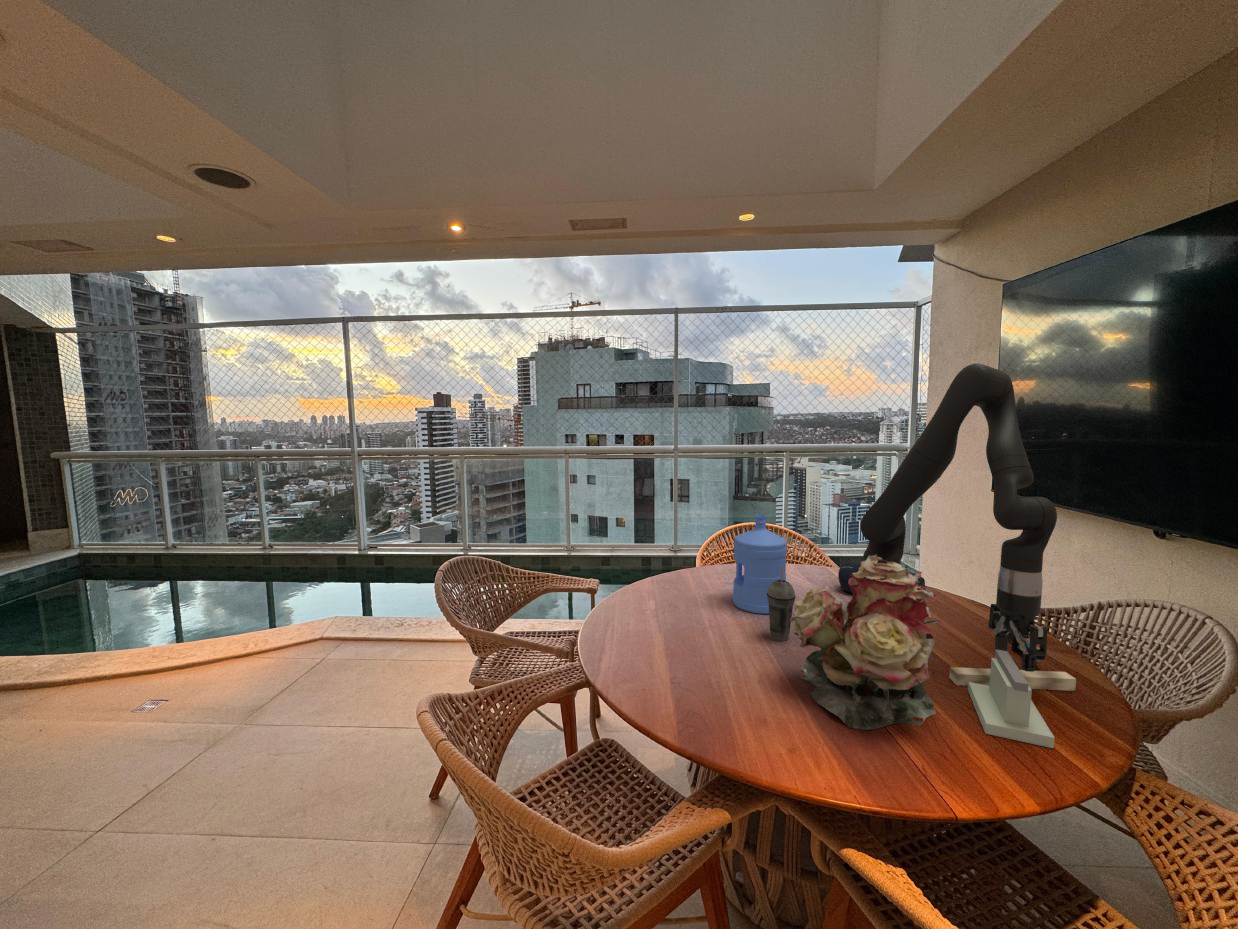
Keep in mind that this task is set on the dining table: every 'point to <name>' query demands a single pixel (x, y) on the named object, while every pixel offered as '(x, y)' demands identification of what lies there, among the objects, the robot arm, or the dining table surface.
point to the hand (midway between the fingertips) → (1013, 661)
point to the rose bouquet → (869, 646)
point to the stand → (1009, 704)
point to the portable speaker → (853, 567)
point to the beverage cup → (780, 608)
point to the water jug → (757, 566)
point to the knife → (1017, 646)
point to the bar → (1034, 679)
